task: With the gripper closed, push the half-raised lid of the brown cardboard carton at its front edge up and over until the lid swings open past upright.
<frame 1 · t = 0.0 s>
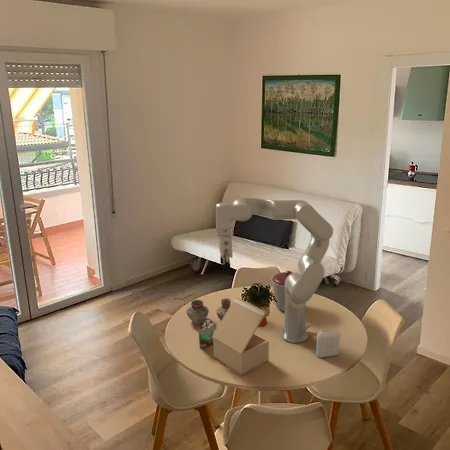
hand: (225, 267, 207), 37 cm above the table, tool pointing down, fingers open, 9 cm apart
pottery: (211, 322, 237), on the table
canister: (287, 307, 250), on the table
carton lid: (238, 324, 198), point 18 cm above the table, hinge at 45.0°
photo printer: (327, 355, 207), on the table
carton: (240, 359, 204), on the table
food container: (208, 343, 217), on the table
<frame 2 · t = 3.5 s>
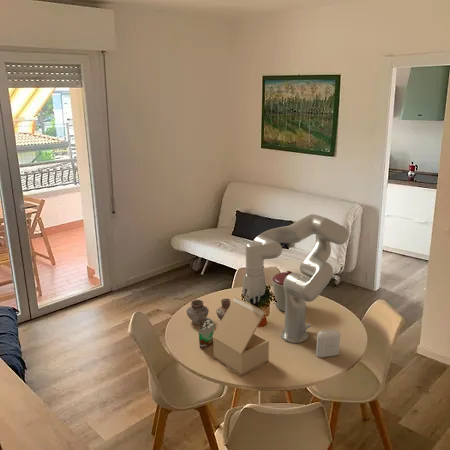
hand: (254, 309, 203), 21 cm above the table, tool pointing down, fingers closed
carton lid: (238, 324, 198), point 18 cm above the table, hinge at 46.3°, touching gripper
everything else where it was.
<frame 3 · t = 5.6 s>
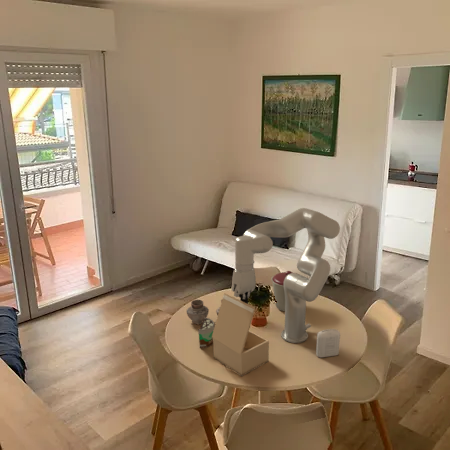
hand: (244, 306, 198), 25 cm above the table, tool pointing down, fingers closed
carton lid: (232, 322, 195), point 20 cm above the table, hinge at 67.5°, touching gripper
everything else where it was.
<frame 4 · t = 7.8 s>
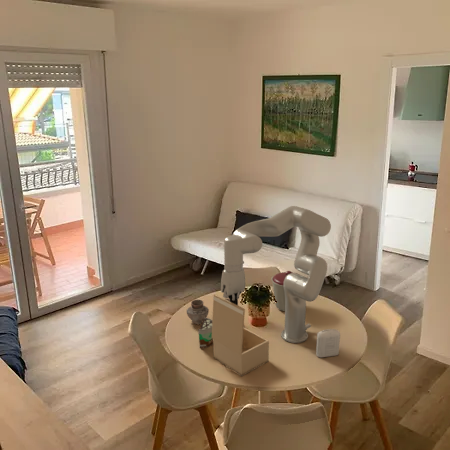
hand: (233, 307, 194), 27 cm above the table, tool pointing down, fingers closed
carton lid: (227, 323, 193), point 20 cm above the table, hinge at 85.0°, touching gripper
everything else where it was.
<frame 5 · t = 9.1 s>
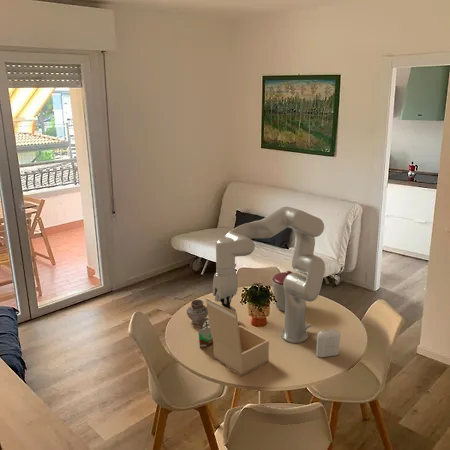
hand: (225, 310, 191), 26 cm above the table, tool pointing down, fingers closed
carton lid: (223, 326, 192), point 20 cm above the table, hinge at 97.5°, touching gripper
everything else where it was.
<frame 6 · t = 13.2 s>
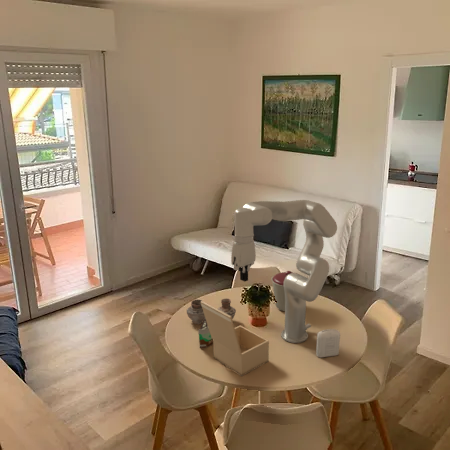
hand: (244, 280, 194), 37 cm above the table, tool pointing down, fingers closed
carton lid: (220, 328, 191), point 20 cm above the table, hinge at 105.8°
everything else where it was.
at the end: carton lid at +106° (first picture: +45°) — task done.
